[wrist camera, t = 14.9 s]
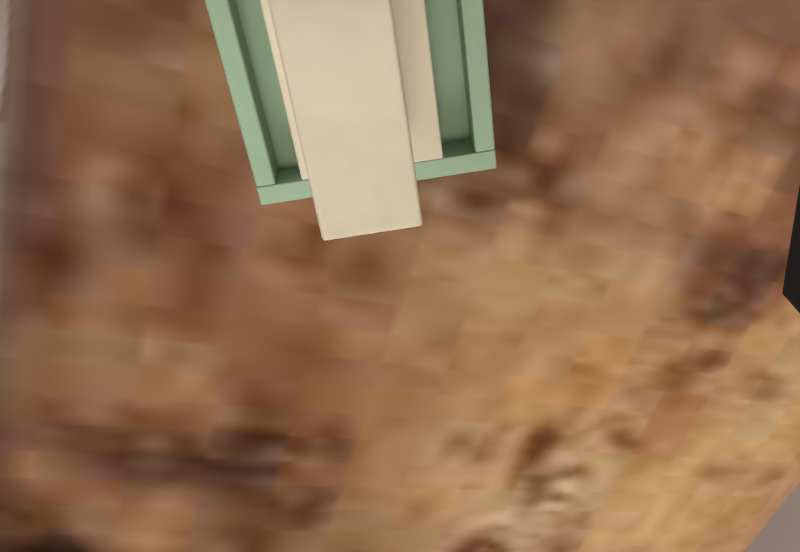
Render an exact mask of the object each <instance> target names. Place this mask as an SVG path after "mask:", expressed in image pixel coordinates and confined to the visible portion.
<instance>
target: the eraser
mask: <svg viewBox="0 0 800 552" xmlns="http://www.w3.org/2000/svg"><path fill="white" fill-rule="evenodd" d="M260 4H261V8H262V12H263V16H264V21H265V25H266V29H267V33H268V38H269V42H270V46H271V51H272V55H273V59H274V63H275V68H276V72H277V76H278V80H279V85H280V89H281V93H282V98H283V102H284V106H285V110H286V115H287V119H288V123H289V127H290V132H291V136H292V140H293V144H294V149H295V153H296V157H297V162H298V166H299V170H300V174H301V178H302V180H304V179H309V183H310V187H311V192H312V196H313V201H314V205H315V209H316V214H317V218H318V222H319V227H320V231H321V236H322V238H323V240H331V239H337V238H344V237H350V236H357V235H363V234H370V233H377V232H383V231H390V230H396V229H403V228H409V227H416V226H421V225H422V223H423V221H422V214H421V207H420V200H419V193H418V186H417V179H416V172H415V165H414V162H420V161H427V160H433V159H440V158H443V151H442V143H441V134H440V126H439V117H438V109H437V101H436V92H435V84H434V75H433V67H432V58H431V50H430V41H429V33H428V25H427V16H426V8H425V0H260Z"/></svg>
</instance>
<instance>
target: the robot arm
mask: <svg viewBox="0 0 800 552" xmlns="http://www.w3.org/2000/svg"><path fill="white" fill-rule="evenodd" d="M782 294H783V295H784V296H785V297H786V298H787V299H788V300H789V301H790V303H791V304H792V305H793V306H794V307H795V308H796V309H797V310H798V311H799V313H800V187H799V193H798V199H797V205H796V212H795V218H794V224H793V230H792V236H791V243H790V249H789V255H788V261H787V267H786V273H785V280H784V286H783V292H782Z"/></svg>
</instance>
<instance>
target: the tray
mask: <svg viewBox="0 0 800 552" xmlns="http://www.w3.org/2000/svg"><path fill="white" fill-rule="evenodd" d="M205 2H206V6H207V9H208V13H209V17H210V20H211V24H212V28H213V31H214V35H215V38H216V42H217V46H218V49H219V53H220V57H221V60H222V64H223V67H224V71H225V75H226V78H227V82H228V85H229V89H230V93H231V96H232V100H233V104H234V107H235V111H236V114H237V118H238V122H239V125H240V129H241V132H242V136H243V140H244V143H245V147H246V151H247V154H248V158H249V161H250V165H251V169H252V172H253V176H254V179H255V183H256V185H257V191H258V195H259V198H260V202H261V205H265V204H272V203H278V202H284V201H291V200H297V199H303V198H310V197H313V196H312V192H311V187H310V183H309V179H304V180H302V178H301V174H300V170H299V166H298V162H297V157H296V153H295V149H294V144H293V140H292V136H291V132H290V127H289V123H288V119H287V115H286V110H285V106H284V102H283V98H282V93H281V89H280V85H279V80H278V76H277V72H276V68H275V63H274V59H273V55H272V51H271V46H270V42H269V38H268V33H267V29H266V25H265V21H264V16H263V12H262V8H261V4H260V0H205ZM425 8H426V16H427V25H428V33H429V41H430V50H431V58H432V67H433V75H434V84H435V92H436V101H437V109H438V117H439V126H440V134H441V143H442V151H443V158H440V159H433V160H427V161H420V162H414V165H415V172H416V179H417V180H423V179H430V178H436V177H442V176H448V175H455V174H461V173H467V172H474V171H480V170H486V169H493V168H496V167H497V166H496V153H495V149H494V148H495V142H494V130H493V118H492V105H491V93H490V81H489V68H488V56H487V44H486V31H485V19H484V7H483V0H425Z"/></svg>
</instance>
